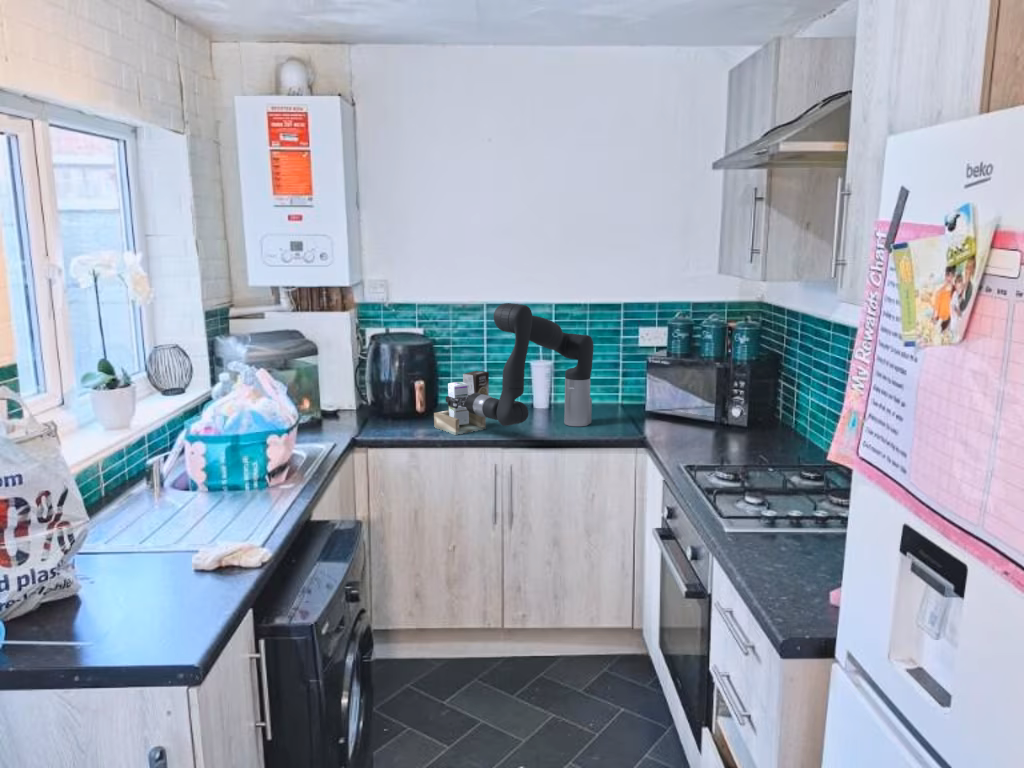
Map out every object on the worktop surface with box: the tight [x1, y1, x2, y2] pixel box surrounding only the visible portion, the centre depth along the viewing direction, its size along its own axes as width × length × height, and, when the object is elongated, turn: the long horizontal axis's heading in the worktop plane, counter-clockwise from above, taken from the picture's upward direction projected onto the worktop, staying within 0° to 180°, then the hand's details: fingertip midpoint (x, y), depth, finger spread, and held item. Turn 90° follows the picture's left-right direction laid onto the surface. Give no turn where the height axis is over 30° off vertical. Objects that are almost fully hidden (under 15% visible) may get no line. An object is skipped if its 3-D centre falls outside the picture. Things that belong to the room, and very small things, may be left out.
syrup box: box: [447, 381, 469, 425], centre depth 274 cm, size 6×6×14 cm
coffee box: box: [462, 370, 490, 396], centre depth 297 cm, size 9×6×16 cm
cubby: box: [433, 409, 487, 436], centre depth 275 cm, size 13×14×6 cm
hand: (454, 397), depth 275 cm, fingers closed on syrup box, 6 cm apart
